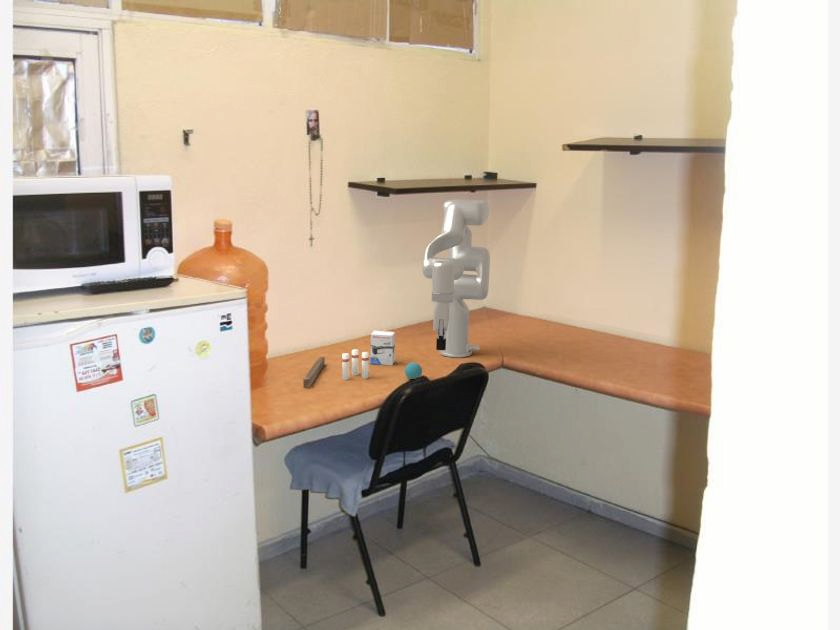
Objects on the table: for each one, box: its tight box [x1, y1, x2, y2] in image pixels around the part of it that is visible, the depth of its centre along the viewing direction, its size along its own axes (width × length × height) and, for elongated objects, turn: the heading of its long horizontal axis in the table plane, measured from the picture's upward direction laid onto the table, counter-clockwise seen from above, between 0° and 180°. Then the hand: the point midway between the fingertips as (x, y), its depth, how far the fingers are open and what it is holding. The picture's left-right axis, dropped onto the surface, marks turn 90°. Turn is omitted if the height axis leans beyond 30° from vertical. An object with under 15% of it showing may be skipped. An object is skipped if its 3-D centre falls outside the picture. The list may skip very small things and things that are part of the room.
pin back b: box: [341, 352, 350, 381], centre depth 278 cm, size 2×2×9 cm
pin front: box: [361, 351, 370, 379], centre depth 280 cm, size 2×2×9 cm
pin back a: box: [351, 348, 360, 377], centre depth 284 cm, size 2×2×9 cm
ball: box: [404, 362, 423, 380], centre depth 280 cm, size 6×6×6 cm
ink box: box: [370, 330, 396, 366], centre depth 298 cm, size 8×5×12 cm, turn 82°
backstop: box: [302, 356, 326, 389], centre depth 282 cm, size 2×28×3 cm, turn 176°
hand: (441, 349), depth 277 cm, fingers closed
